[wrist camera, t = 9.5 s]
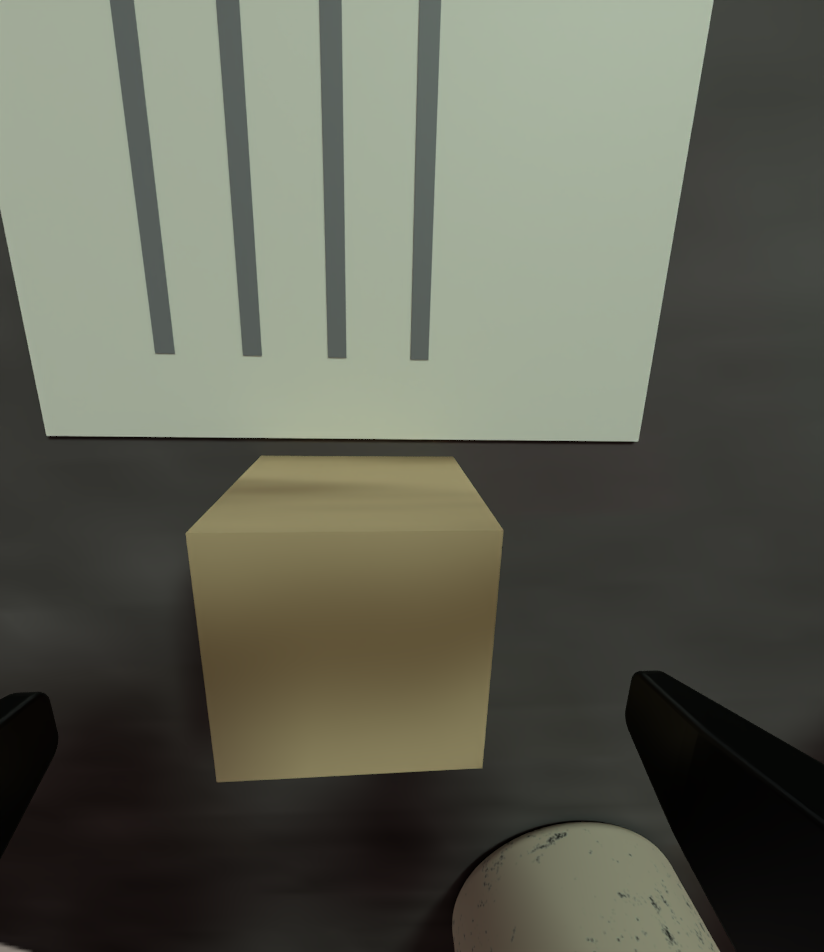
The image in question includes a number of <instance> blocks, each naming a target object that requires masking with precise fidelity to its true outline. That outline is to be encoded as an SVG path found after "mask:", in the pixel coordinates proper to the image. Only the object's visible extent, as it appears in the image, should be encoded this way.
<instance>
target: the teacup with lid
mask: <svg viewBox="0 0 824 952" xmlns="http://www.w3.org/2000/svg"><path fill="white" fill-rule="evenodd" d="M452 932H453V940H454V948H455V952H720V951H719V949H718V947H717V946H716V944H715V942H714V940H713V939H712V937H711V935H710V933H709V931H708V930H707V928H706V926H705V924H704V923H703V921H702V919H701V917H700V916H699V914H698V912H697V910H696V909H695V907H694V905H693V903H692V902H691V900H690V898H689V896H688V894H687V893H686V891H685V889H684V887H683V886H682V884H681V882H680V880H679V879H678V877H677V875H676V873H675V872H674V870H673V868H672V866H671V864H670V863H669V861H668V860H667V859H666V857H665V856H664V855H663V853H662V852H661V851H660V850H659V849H658V848H657V847H656V846H655V845H654V844H652V843H651V842H650V841H649V840H647V839H646V838H644V837H642V836H641V835H639V834H637V833H635V832H633V831H631V830H628V829H626V828H623V827H620V826H616V825H611V824H606V823H598V822H571V823H563V824H557V825H552V826H548V827H544V828H541V829H537V830H534V831H532V832H529V833H526V834H524V835H522V836H520V837H518V838H515V839H513V840H512V841H510V842H508V843H506V844H505V845H503V846H501V847H500V848H499V849H497V850H496V851H494V852H493V853H492V854H490V855H489V856H488V857H487V858H485V859H484V860H483V861H482V862H481V863H480V864H479V865H478V866H477V867H476V868H475V870H474V871H473V872H472V873H471V874H470V876H469V877H468V878H467V880H466V881H465V883H464V885H463V887H462V888H461V890H460V893H459V895H458V897H457V900H456V903H455V906H454V911H453V917H452Z"/></svg>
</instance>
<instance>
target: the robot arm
mask: <svg viewBox="0 0 824 952" xmlns="http://www.w3.org/2000/svg"><path fill="white" fill-rule="evenodd" d="M625 718H626V724H627V727H628V730H629V732H630V735H631V737H632V739H633V742H634V744H635V746H636V749H637V751H638V753H639V756H640V758H641V760H642V763H643V765H644V767H645V770H646V772H647V774H648V777H649V779H650V781H651V784H652V786H653V788H654V791H655V793H656V795H657V798H658V800H659V802H660V805H661V807H662V809H663V812H664V814H665V816H666V818H667V820H668V823H669V825H670V827H671V829H672V831H673V833H674V835H675V837H676V839H677V841H678V843H679V845H680V847H681V849H682V851H683V853H684V855H685V857H686V859H687V860H688V862H689V864H690V866H691V868H692V870H693V872H694V874H695V875H696V877H697V879H698V881H699V883H700V885H701V887H702V889H703V890H704V892H705V894H706V896H707V898H708V900H709V902H710V904H711V906H712V907H713V909H714V911H715V913H716V915H717V917H718V919H719V921H720V922H721V924H722V926H723V928H724V930H725V932H726V934H727V936H728V937H729V939H730V941H731V943H732V945H733V947H734V949H735V951H736V952H824V764H822V763H820V762H819V761H817V760H815V759H813V758H812V757H810V756H808V755H807V754H805V753H803V752H801V751H800V750H798V749H796V748H794V747H793V746H791V745H789V744H787V743H786V742H784V741H782V740H780V739H779V738H777V737H775V736H773V735H772V734H770V733H768V732H767V731H765V730H763V729H761V728H760V727H758V726H756V725H754V724H753V723H751V722H749V721H747V720H746V719H744V718H742V717H740V716H739V715H737V714H735V713H733V712H732V711H730V710H728V709H727V708H725V707H723V706H721V705H720V704H718V703H716V702H714V701H713V700H711V699H709V698H707V697H706V696H704V695H702V694H700V693H699V692H697V691H695V690H693V689H692V688H690V687H688V686H687V685H685V684H683V683H681V682H680V681H678V680H676V679H674V678H673V677H671V676H669V675H667V674H666V673H664V672H661V671H638V672H636V673H635V674H634V675H633V676H632V680H631V684H630V690H629V695H628V700H627V705H626V710H625ZM57 745H58V732H57V728H56V724H55V719H54V715H53V711H52V707H51V703H50V699H49V697H48V696H47V695H46V694H45V693H42V692H23V693H13V694H10V695H8V696H6V697H4V698H2V699H0V858H1V856H2V855H3V853H4V851H5V849H6V847H7V845H8V843H9V841H10V839H11V837H12V835H13V833H14V832H15V830H16V828H17V826H18V824H19V822H20V820H21V818H22V816H23V814H24V812H25V810H26V809H27V807H28V805H29V803H30V801H31V799H32V797H33V795H34V793H35V791H36V789H37V787H38V785H39V784H40V782H41V780H42V778H43V776H44V774H45V772H46V770H47V768H48V766H49V764H50V762H51V761H52V759H53V757H54V754H55V752H56V749H57Z"/></svg>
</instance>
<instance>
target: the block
mask: <svg viewBox="0 0 824 952" xmlns="http://www.w3.org/2000/svg"><path fill="white" fill-rule="evenodd" d="M186 540H187V548H188V556H189V564H190V572H191V580H192V588H193V596H194V604H195V612H196V620H197V628H198V636H199V644H200V652H201V660H202V668H203V676H204V684H205V692H206V700H207V708H208V716H209V724H210V732H211V740H212V748H213V756H214V764H215V772H216V780H217V782H232V781H251V780H269V779H288V778H307V777H325V776H344V775H363V774H381V773H400V772H419V771H437V770H456V769H475V768H482V765H483V754H484V743H485V731H486V720H487V709H488V698H489V686H490V675H491V664H492V653H493V642H494V630H495V619H496V608H497V597H498V586H499V574H500V563H501V552H502V541H503V529H502V528H501V526H500V525H499V523H498V522H497V520H496V519H495V517H494V516H493V514H492V513H491V512H490V510H489V509H488V507H487V506H486V504H485V503H484V501H483V500H482V498H481V497H480V495H479V494H478V493H477V491H476V490H475V488H474V487H473V485H472V484H471V482H470V481H469V479H468V478H467V476H466V475H465V473H464V472H463V471H462V469H461V468H460V466H459V465H458V463H457V462H456V460H455V459H454V457H384V456H261V457H260V458H259V459H258V460H257V461H256V462H255V463H254V464H253V465H252V466H251V467H250V468H249V469H248V470H247V471H246V472H245V473H244V474H243V475H242V476H241V477H240V478H239V479H238V480H237V481H236V482H235V483H234V484H233V485H232V486H231V487H230V488H229V489H228V490H227V491H226V492H225V493H224V494H223V495H222V496H221V498H220V499H219V500H218V501H217V502H216V503H215V504H214V505H213V506H212V507H211V508H210V509H209V510H208V511H207V512H206V513H205V514H204V515H203V516H202V517H201V518H200V519H199V520H198V521H197V522H196V523H195V524H194V525H193V526H192V527H191V528H190V529H189V530H188V531H187V532H186Z"/></svg>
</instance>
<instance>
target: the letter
mask: <svg viewBox="0 0 824 952" xmlns="http://www.w3.org/2000/svg"><path fill="white" fill-rule="evenodd" d="M712 6H713V0H0V210H1V215H2V220H3V225H4V230H5V235H6V240H7V244H8V249H9V254H10V259H11V264H12V269H13V274H14V279H15V284H16V289H17V293H18V298H19V303H20V308H21V313H22V318H23V323H24V328H25V333H26V338H27V343H28V347H29V352H30V357H31V362H32V367H33V372H34V377H35V382H36V387H37V392H38V396H39V401H40V406H41V411H42V416H43V421H44V426H45V431H46V436H113V437H218V438H324V439H430V440H536V441H638V440H639V434H640V428H641V422H642V417H643V411H644V405H645V399H646V393H647V387H648V381H649V376H650V370H651V364H652V358H653V352H654V346H655V340H656V335H657V329H658V323H659V317H660V311H661V305H662V299H663V294H664V288H665V282H666V276H667V270H668V264H669V258H670V252H671V247H672V241H673V235H674V229H675V223H676V217H677V211H678V206H679V200H680V194H681V188H682V182H683V176H684V170H685V165H686V159H687V153H688V147H689V141H690V135H691V129H692V124H693V118H694V112H695V106H696V100H697V94H698V88H699V83H700V77H701V71H702V65H703V59H704V53H705V47H706V42H707V36H708V30H709V24H710V18H711V12H712Z"/></svg>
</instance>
